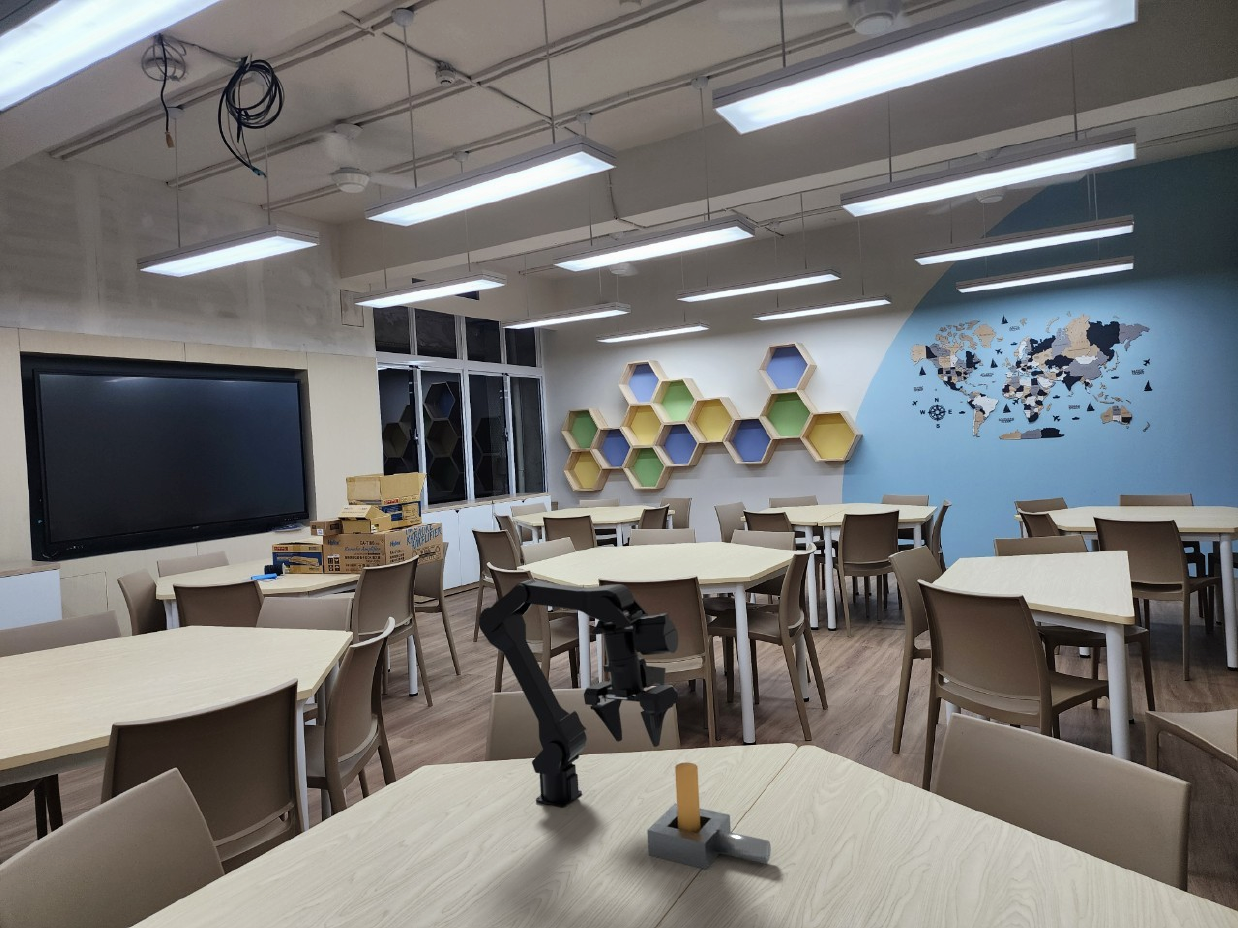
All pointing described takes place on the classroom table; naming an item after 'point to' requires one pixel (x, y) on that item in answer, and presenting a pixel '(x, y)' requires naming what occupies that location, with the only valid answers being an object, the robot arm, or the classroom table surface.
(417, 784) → the classroom table surface
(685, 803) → the orange cylinder
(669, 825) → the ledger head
